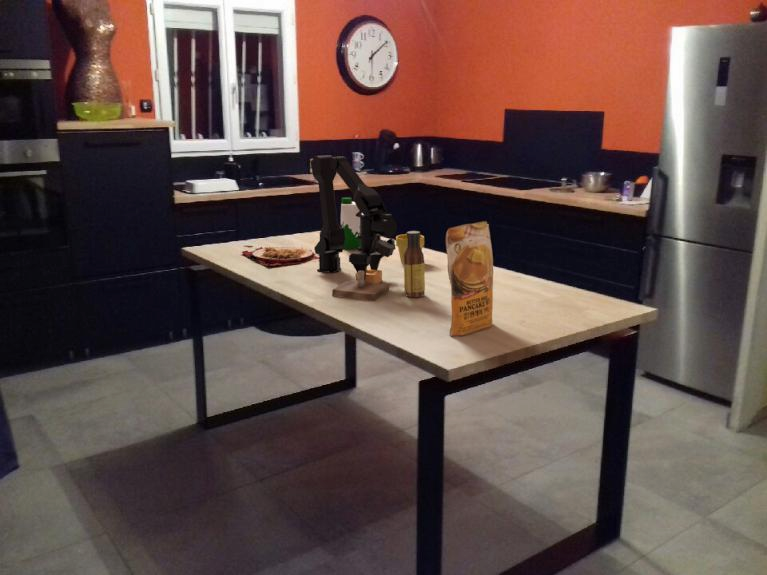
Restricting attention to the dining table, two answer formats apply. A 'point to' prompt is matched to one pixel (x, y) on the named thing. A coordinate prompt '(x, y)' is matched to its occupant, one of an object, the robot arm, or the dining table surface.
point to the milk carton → (350, 223)
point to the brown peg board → (360, 289)
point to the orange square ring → (372, 276)
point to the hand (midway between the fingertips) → (368, 278)
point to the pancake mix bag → (470, 277)
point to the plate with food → (281, 255)
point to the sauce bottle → (414, 266)
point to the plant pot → (405, 244)
